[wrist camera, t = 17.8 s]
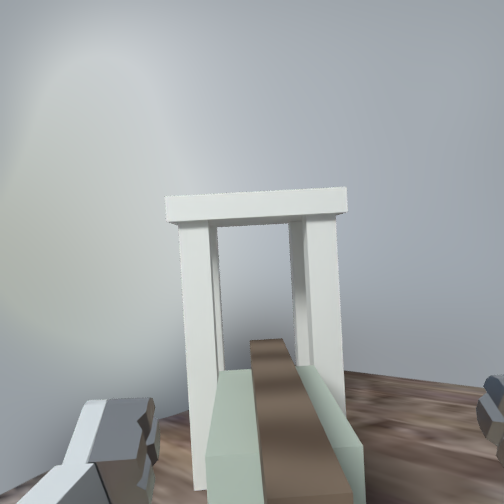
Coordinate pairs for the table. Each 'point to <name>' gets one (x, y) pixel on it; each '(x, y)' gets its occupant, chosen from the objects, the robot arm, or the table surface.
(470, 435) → the table surface
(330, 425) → the pale green cuboid block
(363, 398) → the table surface
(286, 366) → the wooden board
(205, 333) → the stool
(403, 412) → the table surface
